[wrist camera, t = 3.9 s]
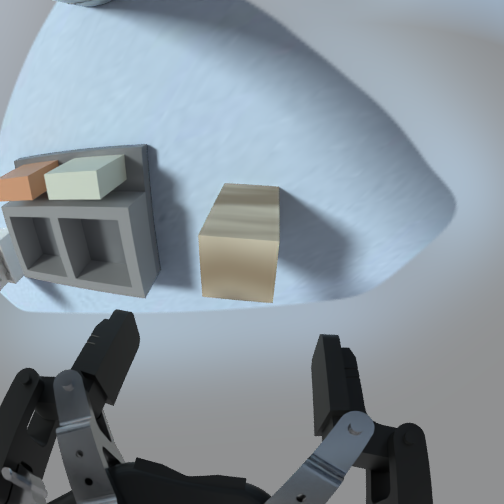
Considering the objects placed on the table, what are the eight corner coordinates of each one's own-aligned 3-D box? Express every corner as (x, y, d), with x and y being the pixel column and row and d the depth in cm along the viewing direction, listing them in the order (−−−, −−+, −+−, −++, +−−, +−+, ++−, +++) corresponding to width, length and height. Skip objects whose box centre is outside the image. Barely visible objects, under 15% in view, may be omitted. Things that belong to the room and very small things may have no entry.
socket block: (20, 157, 20) (-14, 176, 16) (146, 144, 20) (114, 161, 15) (44, 256, 27) (19, 282, 22) (160, 270, 26) (141, 306, 22)
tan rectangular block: (224, 183, 21) (198, 235, 14) (279, 186, 21) (279, 241, 14) (224, 230, 23) (202, 296, 16) (274, 234, 23) (272, 303, 16)
